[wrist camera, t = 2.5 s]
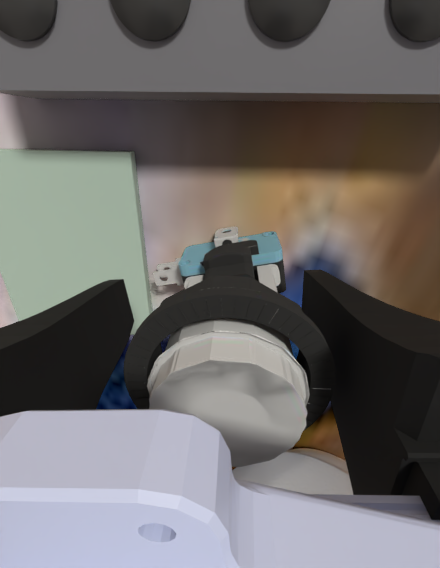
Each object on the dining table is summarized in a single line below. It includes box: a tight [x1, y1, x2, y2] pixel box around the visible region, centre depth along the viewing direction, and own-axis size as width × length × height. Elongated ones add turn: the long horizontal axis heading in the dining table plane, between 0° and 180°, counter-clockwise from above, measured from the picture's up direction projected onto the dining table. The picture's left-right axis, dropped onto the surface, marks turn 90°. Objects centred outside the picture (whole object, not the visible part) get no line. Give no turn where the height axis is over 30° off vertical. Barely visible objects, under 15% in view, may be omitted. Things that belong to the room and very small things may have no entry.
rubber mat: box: [0, 149, 152, 335], centre depth 16 cm, size 8×10×1 cm
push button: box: [124, 227, 336, 467], centre depth 11 cm, size 7×5×10 cm
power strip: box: [0, 0, 440, 103], centre depth 9 cm, size 18×5×4 cm, turn 89°
